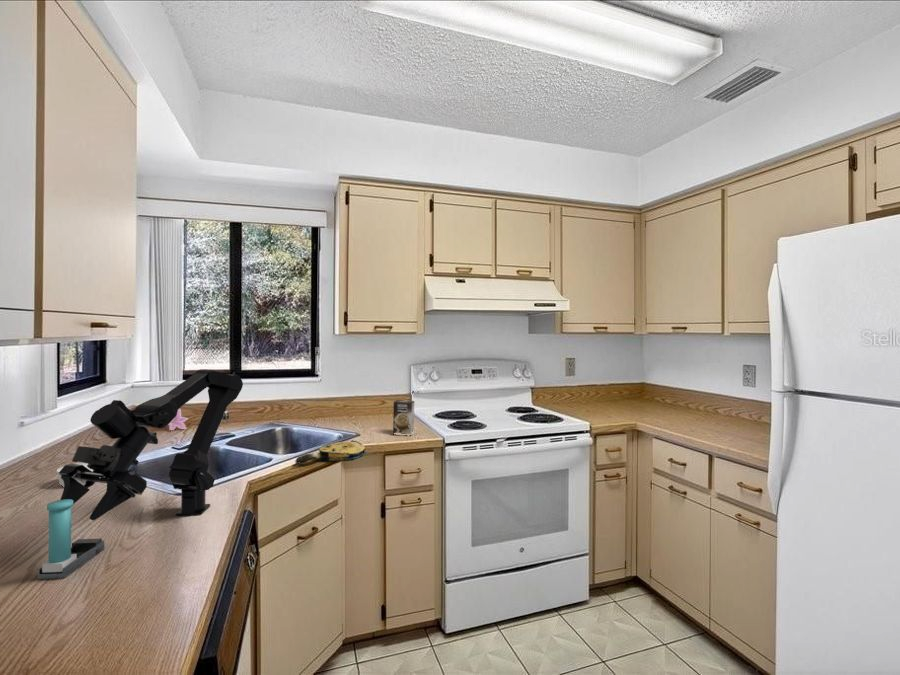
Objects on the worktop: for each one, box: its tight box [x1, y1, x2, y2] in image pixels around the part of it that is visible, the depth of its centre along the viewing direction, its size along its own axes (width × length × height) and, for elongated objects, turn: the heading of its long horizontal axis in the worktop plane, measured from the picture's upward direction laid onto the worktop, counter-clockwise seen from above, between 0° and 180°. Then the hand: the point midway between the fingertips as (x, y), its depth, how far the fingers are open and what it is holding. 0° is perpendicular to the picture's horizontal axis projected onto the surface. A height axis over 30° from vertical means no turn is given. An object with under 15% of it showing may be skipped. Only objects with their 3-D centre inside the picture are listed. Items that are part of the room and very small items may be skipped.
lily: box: [167, 407, 189, 431], centre depth 224 cm, size 12×12×10 cm
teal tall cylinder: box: [41, 499, 77, 573], centre depth 92 cm, size 4×4×13 cm
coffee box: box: [392, 399, 415, 434], centre depth 221 cm, size 9×6×16 cm
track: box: [37, 538, 105, 580], centre depth 95 cm, size 12×5×3 cm, turn 6°
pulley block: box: [294, 440, 375, 464], centre depth 177 cm, size 14×6×30 cm
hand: (74, 516), depth 94 cm, fingers open, 9 cm apart
